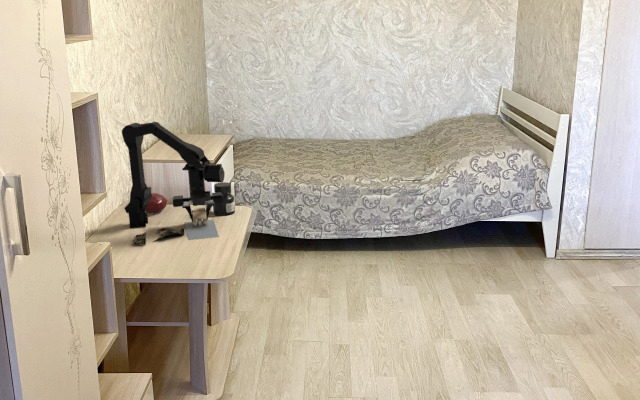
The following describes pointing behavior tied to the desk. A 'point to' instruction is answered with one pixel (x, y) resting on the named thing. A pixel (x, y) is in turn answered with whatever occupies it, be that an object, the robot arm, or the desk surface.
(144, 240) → the decorative rock
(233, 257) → the desk surface
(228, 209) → the ink bottle
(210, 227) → the pin plate
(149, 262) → the desk surface
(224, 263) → the desk surface
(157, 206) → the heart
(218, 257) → the desk surface
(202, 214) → the block
